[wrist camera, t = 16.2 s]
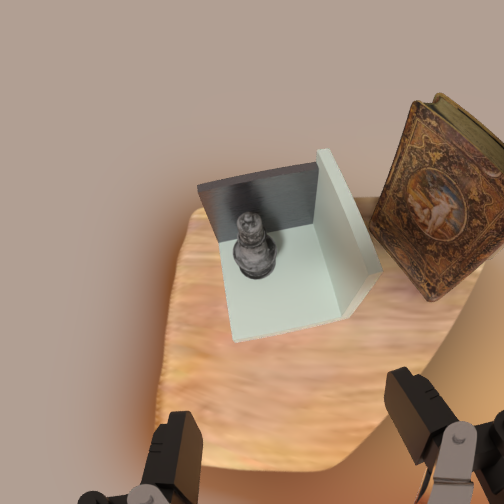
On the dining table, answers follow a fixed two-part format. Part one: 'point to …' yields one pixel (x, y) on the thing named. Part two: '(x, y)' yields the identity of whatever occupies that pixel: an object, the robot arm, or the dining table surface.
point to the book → (442, 197)
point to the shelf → (293, 247)
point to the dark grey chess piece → (254, 247)
